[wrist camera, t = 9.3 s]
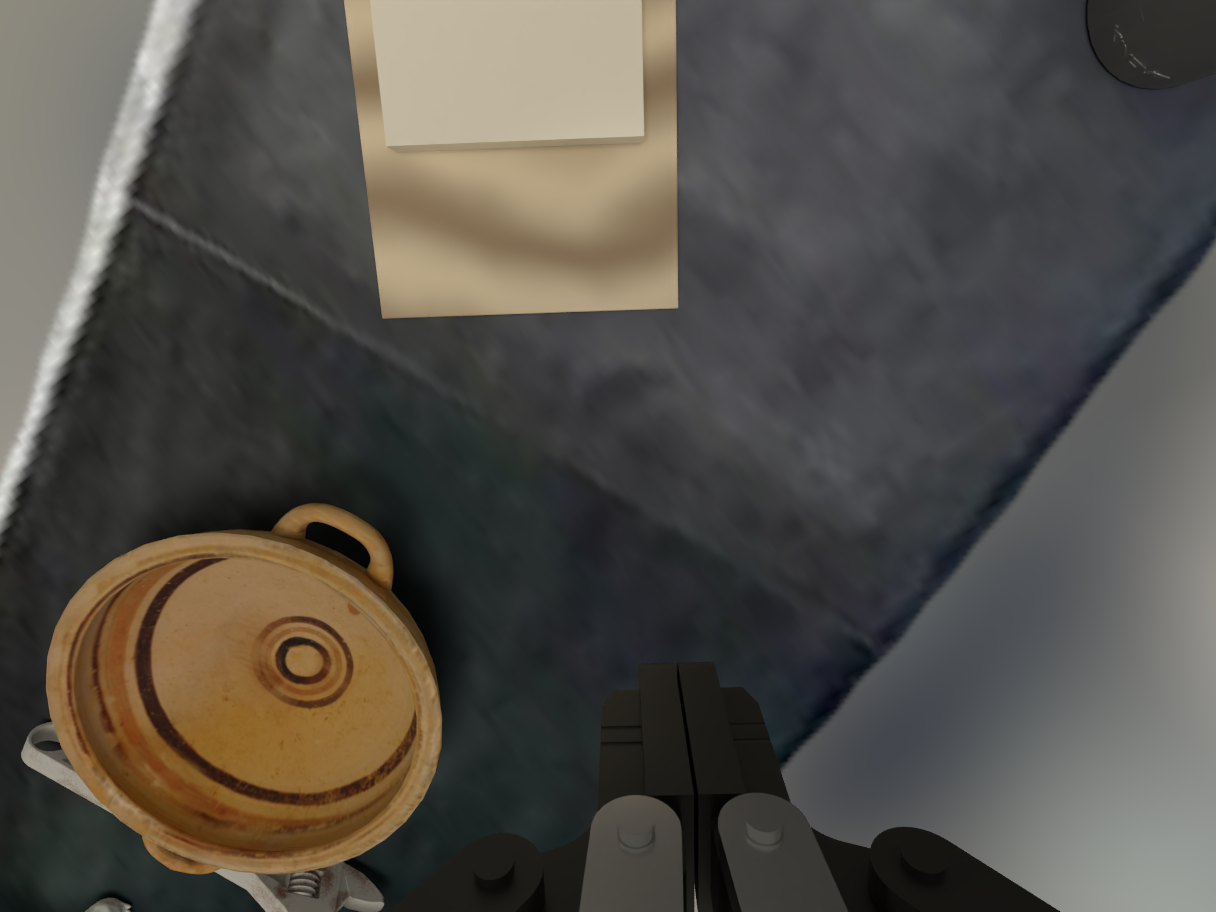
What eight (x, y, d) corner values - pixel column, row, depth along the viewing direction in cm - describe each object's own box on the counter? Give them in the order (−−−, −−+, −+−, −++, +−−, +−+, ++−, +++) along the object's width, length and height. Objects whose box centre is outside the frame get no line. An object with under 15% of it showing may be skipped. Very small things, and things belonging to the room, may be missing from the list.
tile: (642, 143, 39) (637, -107, 36) (644, 136, 37) (639, -130, 34) (398, 152, 39) (371, -94, 36) (386, 146, 37) (356, -117, 34)
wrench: (84, 695, 54) (411, 884, 54) (76, 712, 55) (401, 899, 55) (-18, 760, 46) (365, 980, 47) (-25, 779, 47) (354, 997, 47)
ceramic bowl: (368, 858, 54) (327, 956, 47) (75, 727, 51) (-20, 808, 44) (545, 563, 47) (531, 620, 40) (218, 391, 44) (135, 417, 37)
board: (336, -138, 37) (325, -155, 35) (672, -154, 36) (674, -172, 35) (390, 316, 43) (382, 318, 42) (675, 306, 43) (677, 308, 41)
